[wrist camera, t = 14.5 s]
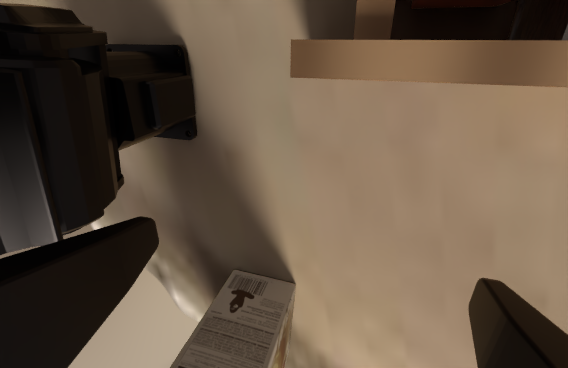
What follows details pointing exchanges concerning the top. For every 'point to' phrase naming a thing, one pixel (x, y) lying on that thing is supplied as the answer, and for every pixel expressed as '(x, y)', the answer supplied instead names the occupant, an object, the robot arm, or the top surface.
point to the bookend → (540, 20)
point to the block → (456, 3)
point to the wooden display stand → (427, 56)
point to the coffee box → (243, 326)
